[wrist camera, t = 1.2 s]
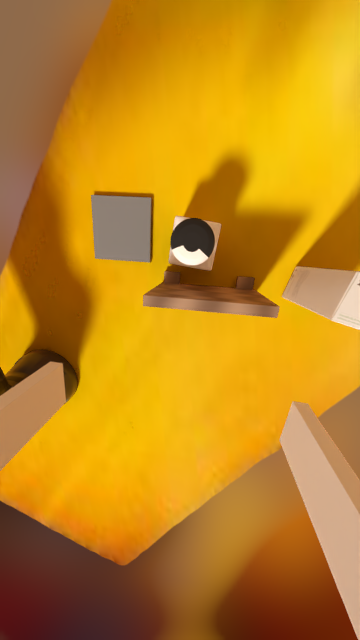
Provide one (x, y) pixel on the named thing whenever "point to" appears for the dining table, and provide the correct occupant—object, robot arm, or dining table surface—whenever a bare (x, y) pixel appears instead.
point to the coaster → (122, 227)
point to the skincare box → (327, 293)
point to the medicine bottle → (194, 242)
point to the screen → (210, 297)
